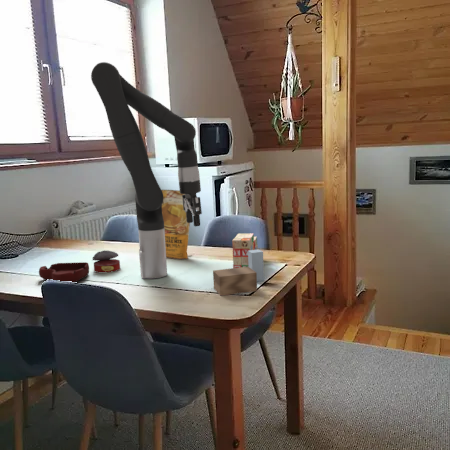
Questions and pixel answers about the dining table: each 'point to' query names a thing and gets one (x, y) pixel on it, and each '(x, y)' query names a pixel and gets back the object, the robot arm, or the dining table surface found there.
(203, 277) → the dining table surface
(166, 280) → the dining table surface
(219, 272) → the step
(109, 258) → the canned food
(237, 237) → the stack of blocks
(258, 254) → the block
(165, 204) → the pancake mix bag
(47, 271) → the ashtray
